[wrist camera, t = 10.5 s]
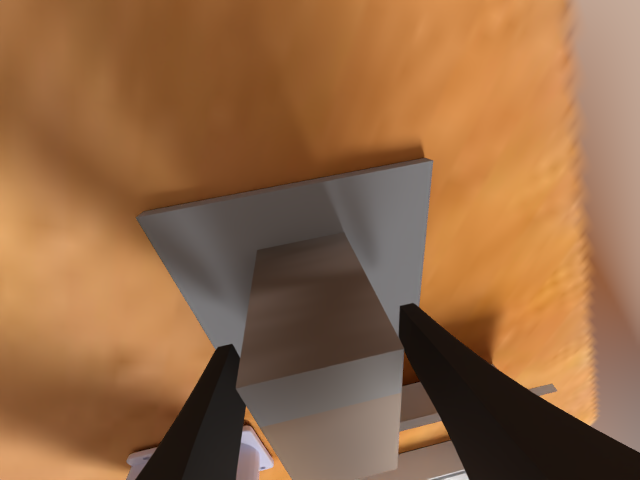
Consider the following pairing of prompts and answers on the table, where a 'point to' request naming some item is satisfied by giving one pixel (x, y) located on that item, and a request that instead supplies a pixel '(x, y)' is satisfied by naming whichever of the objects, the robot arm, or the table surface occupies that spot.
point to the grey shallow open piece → (433, 461)
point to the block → (321, 362)
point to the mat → (295, 238)
